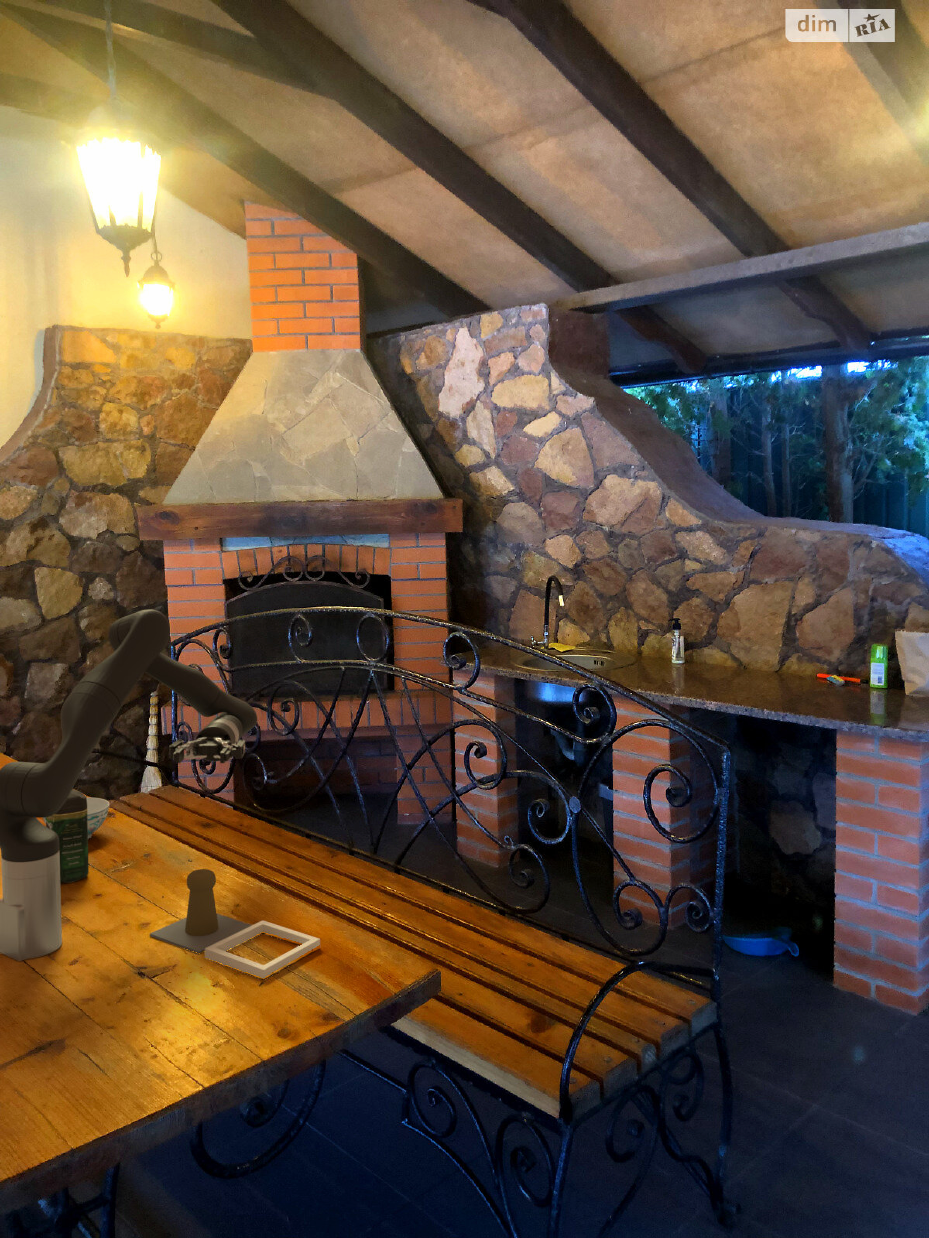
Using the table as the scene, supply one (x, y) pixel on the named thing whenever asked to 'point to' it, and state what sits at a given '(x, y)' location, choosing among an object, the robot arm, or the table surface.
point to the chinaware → (94, 813)
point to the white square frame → (219, 949)
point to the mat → (198, 943)
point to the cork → (201, 904)
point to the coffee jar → (72, 837)
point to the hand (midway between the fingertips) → (199, 758)
